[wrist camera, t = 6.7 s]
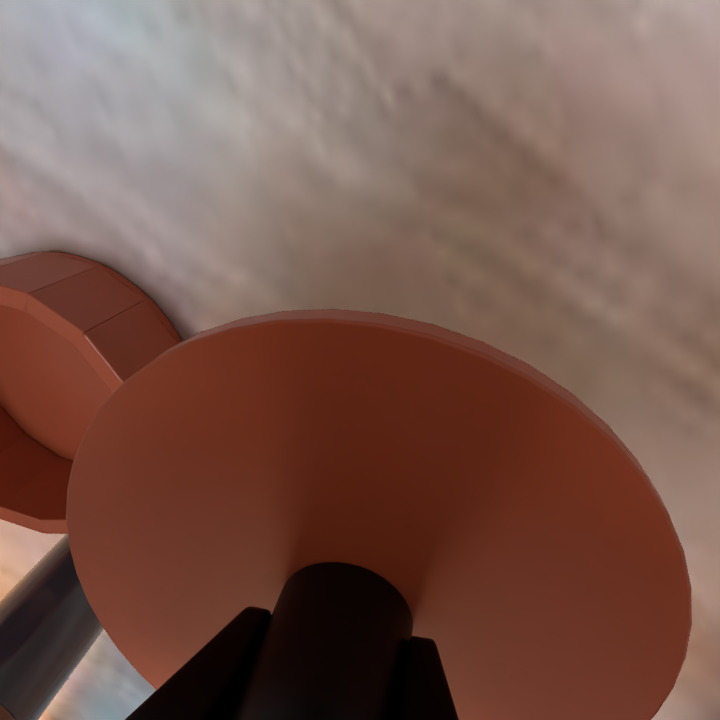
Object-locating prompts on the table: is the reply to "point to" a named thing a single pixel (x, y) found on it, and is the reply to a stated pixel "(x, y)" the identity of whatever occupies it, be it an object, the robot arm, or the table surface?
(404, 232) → the table surface
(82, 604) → the spice jar
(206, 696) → the robot arm
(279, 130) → the table surface
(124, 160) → the table surface
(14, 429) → the pot
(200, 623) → the lid
